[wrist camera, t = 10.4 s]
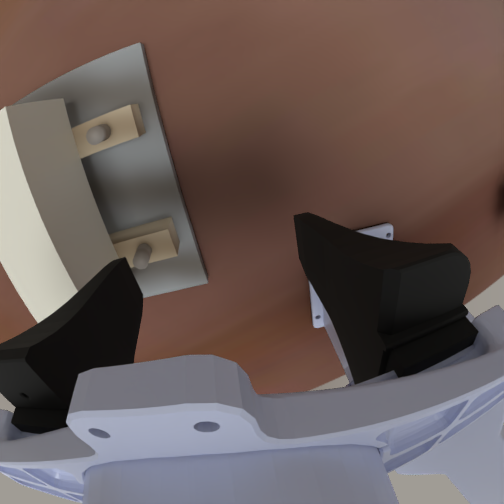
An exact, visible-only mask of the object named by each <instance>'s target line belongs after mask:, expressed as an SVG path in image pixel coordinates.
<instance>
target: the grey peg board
mask: <svg viewBox="0 0 504 504" xmlns="http://www.w3.org/2000/svg"><path fill="white" fill-rule="evenodd" d="M61 98H63V99H64V103H65V107H66V111H67V115H68V118H69V122H70V126H71V129H72V133H73V136H74V140H75V143H76V146H77V150H78V153H79V156H80V159H81V162H82V165H83V168H84V171H85V174H86V177H87V180H88V183H89V186H90V188H91V191H92V194H93V197H94V199H95V202H96V205H97V207H98V210H99V212H100V215H101V217H102V220H103V222H104V225H105V227H106V230H107V232H108V234H109V237H110V239H111V241H112V244H113V246H114V248H115V251H116V253H117V255H118V257H119V258H123V257H126V259H127V261H128V263H129V265H130V268H131V270H132V272H133V274H134V276H135V278H136V281H137V283H138V285H139V287H140V289H141V291H142V293H143V298H144V297H149V296H153V295H158V294H162V293H167V292H171V291H176V290H180V289H185V288H189V287H193V286H198V285H202V284H206V283H208V275H207V272H206V269H205V266H204V263H203V259H202V256H201V253H200V250H199V247H198V244H197V241H196V238H195V235H194V231H193V228H192V225H191V222H190V219H189V215H188V212H187V209H186V206H185V202H184V199H183V195H182V192H181V189H180V185H179V182H178V178H177V175H176V171H175V168H174V164H173V161H172V157H171V154H170V150H169V146H168V143H167V139H166V135H165V132H164V128H163V124H162V120H161V116H160V112H159V108H158V105H157V101H156V96H155V92H154V88H153V84H152V80H151V76H150V71H149V67H148V63H147V58H146V54H145V49H144V45H143V44H142V43H137V44H134V45H131V46H129V47H126V48H123V49H120V50H118V51H115V52H113V53H110V54H108V55H105V56H103V57H101V58H98V59H96V60H94V61H91V62H89V63H87V64H85V65H83V66H80V67H78V68H76V69H74V70H72V71H70V72H68V73H66V74H64V75H62V76H60V77H58V78H57V79H55V80H53V81H51V82H49V83H47V84H46V85H44V86H42V87H40V88H39V89H37V90H35V91H34V92H32V93H30V94H29V95H27V96H25V97H24V98H22V99H21V100H19V101H18V102H16V103H15V104H13V105H18V104H24V103H30V102H37V101H44V100H52V99H61Z"/></svg>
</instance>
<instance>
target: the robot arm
mask: <svg viewBox="0 0 504 504" xmlns="http://www.w3.org/2000/svg"><path fill="white" fill-rule="evenodd" d="M294 223H295V230H296V238H297V245H298V253H299V259H300V261H301V264H302V266H303V269H304V271H305V274H306V276H307V278H308V280H309V289H310V300H311V311H312V323H313V326H314V327H315V328H320V327H323V326H324V327H325V329H326V331H327V333H328V335H329V337H330V340H331V342H332V344H333V346H334V348H335V351H336V353H337V355H338V357H339V360H340V362H341V364H342V366H343V368H344V371H345V373H346V376H347V378H348V380H349V382H350V383H349V384H348V385H346V387H342V388H334V389H325V390H316V391H306V392H294V393H279V394H258V395H257V394H256V393H255V391H254V390H253V387H252V385H251V382H250V379H249V377H248V375H247V374H246V373H245V371H244V370H243V369H242V368H241V367H240V366H239V365H238V364H237V363H236V362H233V361H230V360H227V359H224V358H221V357H218V356H215V355H184V356H179V357H173V358H167V359H161V360H154V361H148V362H141V363H134V355H135V350H136V344H137V339H138V334H139V329H140V323H141V318H142V310H143V293H142V291H141V289H140V287H139V285H138V283H137V281H136V278H135V276H134V274H133V272H132V270H131V268H130V265H129V263H128V261H127V259H126V257H123V258H119V259H116V260H113V261H111V262H110V263H108V264H107V265H106V266H105V267H104V268H103V269H101V270H100V271H99V272H98V273H97V274H96V275H95V276H94V277H93V278H92V279H91V280H90V281H89V282H88V283H87V284H86V285H85V286H84V287H82V288H81V289H80V290H79V291H78V292H77V293H76V294H75V295H74V296H73V297H72V298H71V299H69V300H68V301H67V302H66V303H65V304H64V305H62V306H61V307H60V308H59V309H57V310H56V311H55V312H54V313H52V314H51V315H50V316H48V317H47V318H45V319H44V320H42V321H41V322H39V323H38V324H37V325H35V326H33V327H32V328H30V329H28V330H27V331H25V332H23V333H21V334H20V335H18V336H16V337H14V338H12V339H10V340H8V341H6V342H3V343H1V344H0V393H1V394H2V395H3V396H4V397H5V398H6V399H7V400H8V401H9V402H11V403H12V404H13V405H14V406H15V407H16V408H15V411H14V413H12V412H10V411H8V410H2V409H0V472H1V473H3V474H4V475H6V476H7V477H9V478H11V479H12V480H14V481H16V482H18V483H19V484H21V485H23V486H26V487H29V488H33V489H35V490H39V491H42V492H45V493H48V494H51V495H55V496H58V497H61V498H64V499H68V500H72V501H75V502H79V503H82V504H399V502H398V500H397V497H396V494H395V492H394V489H393V487H392V484H391V482H390V479H389V476H388V474H387V473H389V472H391V471H393V470H395V471H396V472H397V473H398V474H405V475H406V474H407V475H423V474H445V475H446V476H447V477H448V478H449V479H450V480H451V482H452V483H453V484H454V485H455V486H456V487H457V489H458V490H459V491H460V492H461V494H462V495H463V496H464V497H465V498H466V499H467V501H468V502H469V503H470V504H504V425H503V423H504V310H503V309H502V308H501V307H500V306H499V305H496V306H494V307H492V308H491V309H489V310H487V311H485V312H483V313H482V314H480V315H479V316H477V317H476V318H474V317H473V316H472V315H471V314H470V312H469V311H468V310H467V308H466V307H465V306H464V305H463V300H464V297H465V294H466V291H467V287H468V284H469V279H470V273H471V269H470V262H469V260H468V258H467V257H466V256H465V255H464V254H463V253H462V252H461V251H459V250H458V249H457V248H456V247H455V246H454V245H452V244H451V243H447V244H423V243H409V242H400V241H394V240H393V226H392V225H391V224H389V223H386V224H382V225H378V226H374V227H370V228H366V229H362V230H358V231H354V230H351V229H348V228H345V227H343V226H340V225H338V224H335V223H333V222H331V221H328V220H326V219H324V218H321V217H319V216H317V215H314V214H312V213H308V212H307V213H303V214H298V215H294ZM387 233H389V234H388V235H387ZM386 235H387V236H386ZM318 315H319V316H318ZM316 316H317V317H316Z"/></svg>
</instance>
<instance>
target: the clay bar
mask: <svg viewBox="0 0 504 504" xmlns="http://www.w3.org/2000/svg"><path fill="white" fill-rule="evenodd" d="M116 259H119V257H118V255H117V253H116V251H115V248H114V246H113V244H112V241H111V239H110V237H109V234H108V232H107V230H106V227H105V225H104V222H103V220H102V217H101V215H100V212H99V210H98V207H97V205H96V202H95V199H94V197H93V194H92V191H91V188H90V186H89V183H88V180H87V177H86V174H85V171H84V168H83V165H82V162H81V159H80V156H79V153H78V150H77V146H76V143H75V140H74V136H73V133H72V129H71V126H70V122H69V118H68V115H67V111H66V107H65V103H64V99H63V98H61V99H52V100H44V101H37V102H30V103H24V104H18V105H12V106H7V107H4V108H3V109H2V110H0V261H1V263H2V265H3V267H4V269H5V271H6V272H7V274H8V276H9V278H10V280H11V281H12V283H13V285H14V286H15V288H16V290H17V291H18V293H19V295H20V296H21V298H22V300H23V301H24V303H25V304H26V306H27V307H28V309H29V311H30V312H31V314H32V315H33V317H34V318H35V319H36V321H37V322H38V323H39V322H41V321H42V320H44V319H45V318H47V317H48V316H50V315H51V314H52V313H54V312H55V311H56V310H57V309H59V308H60V307H61V306H62V305H64V304H65V303H66V302H67V301H68V300H69V299H71V298H72V297H73V296H74V295H75V294H76V293H77V292H78V291H79V290H80V289H81V288H82V287H84V286H85V285H86V284H87V283H88V282H89V281H90V280H91V279H92V278H93V277H94V276H95V275H96V274H97V273H98V272H99V271H100V270H101V269H103V268H104V267H105V266H106V265H107V264H108V263H110V262H111V261H113V260H116Z"/></svg>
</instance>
